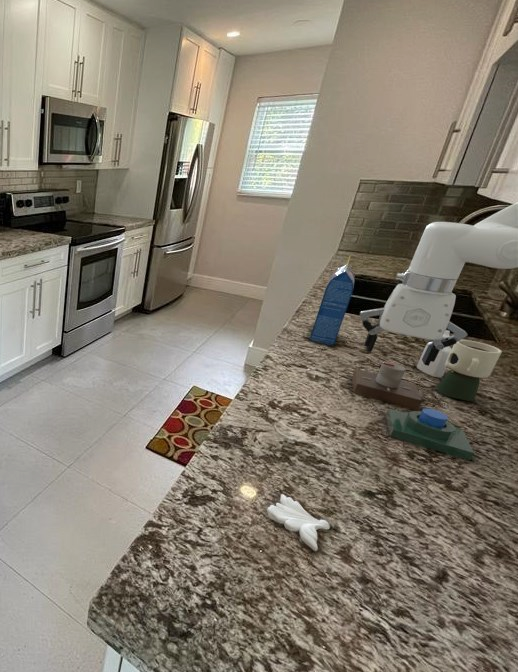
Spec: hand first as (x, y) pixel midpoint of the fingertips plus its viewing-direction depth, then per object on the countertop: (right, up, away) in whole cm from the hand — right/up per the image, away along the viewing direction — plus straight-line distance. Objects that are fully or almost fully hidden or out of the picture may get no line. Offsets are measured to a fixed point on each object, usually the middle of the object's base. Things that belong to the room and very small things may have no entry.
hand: (395, 356), depth 91 cm
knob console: (0, -9, +3) cm, 10 cm away
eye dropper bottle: (+22, -6, +14) cm, 27 cm away
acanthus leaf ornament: (-44, -22, -32) cm, 58 cm away
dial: (0, -6, +2) cm, 7 cm away
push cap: (-5, -11, -13) cm, 18 cm away
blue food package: (+9, +2, +33) cm, 35 cm away
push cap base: (-5, -15, -11) cm, 20 cm away
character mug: (+17, -10, +4) cm, 20 cm away
